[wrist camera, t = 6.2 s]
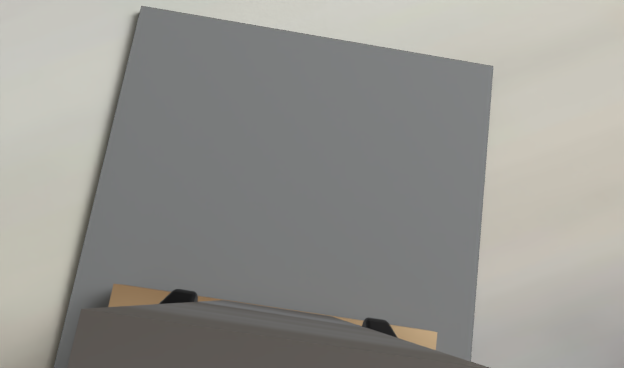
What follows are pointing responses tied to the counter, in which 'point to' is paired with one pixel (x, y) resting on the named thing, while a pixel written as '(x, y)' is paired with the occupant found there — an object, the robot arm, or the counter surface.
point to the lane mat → (291, 177)
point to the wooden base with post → (239, 337)
